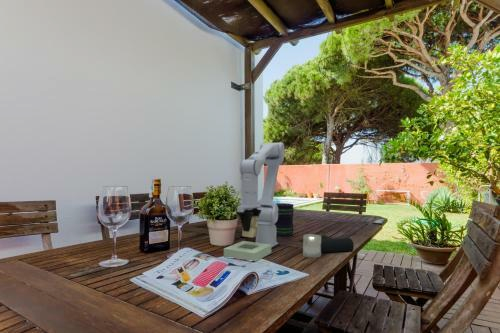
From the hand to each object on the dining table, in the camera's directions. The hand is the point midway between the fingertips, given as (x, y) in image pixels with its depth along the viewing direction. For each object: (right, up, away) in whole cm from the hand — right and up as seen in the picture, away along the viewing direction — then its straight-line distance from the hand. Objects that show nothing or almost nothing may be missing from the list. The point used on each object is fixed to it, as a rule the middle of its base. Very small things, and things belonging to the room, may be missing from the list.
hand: (249, 230), depth 109 cm
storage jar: (+16, -10, +35) cm, 40 cm away
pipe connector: (+31, -10, +10) cm, 34 cm away
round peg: (+23, -9, +1) cm, 25 cm away
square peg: (0, -2, 0) cm, 2 cm away
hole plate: (0, -9, 0) cm, 9 cm away
